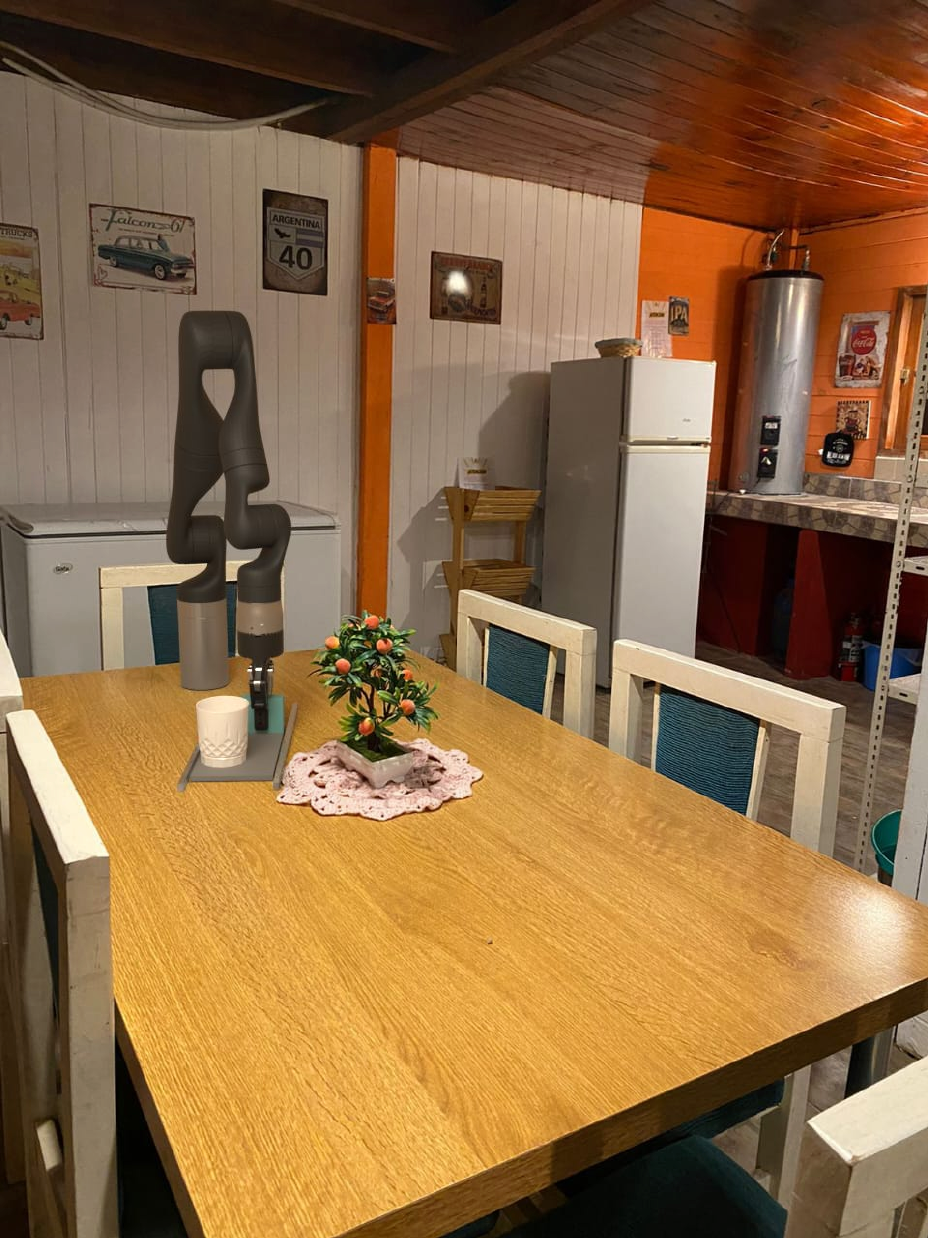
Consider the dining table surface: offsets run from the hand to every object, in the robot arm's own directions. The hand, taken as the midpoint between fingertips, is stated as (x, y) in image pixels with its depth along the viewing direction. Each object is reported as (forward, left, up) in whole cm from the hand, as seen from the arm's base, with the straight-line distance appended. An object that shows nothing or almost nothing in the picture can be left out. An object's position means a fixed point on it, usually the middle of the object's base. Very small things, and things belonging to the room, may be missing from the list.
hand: (262, 726), depth 164 cm
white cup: (+13, -5, -2) cm, 14 cm away
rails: (+4, -3, -2) cm, 5 cm away
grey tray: (+9, -3, -2) cm, 9 cm away
